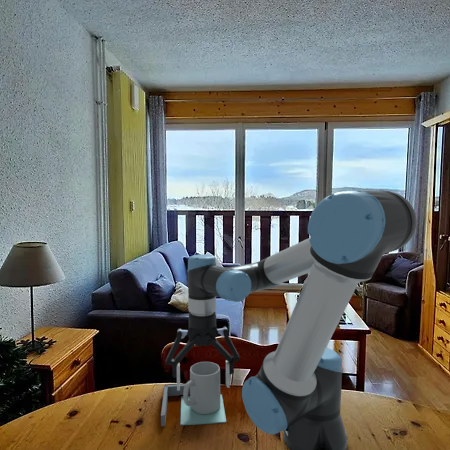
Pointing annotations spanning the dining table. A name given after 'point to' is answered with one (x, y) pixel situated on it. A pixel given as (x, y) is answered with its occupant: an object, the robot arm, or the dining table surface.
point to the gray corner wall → (168, 391)
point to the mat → (201, 415)
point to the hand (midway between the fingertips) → (203, 386)
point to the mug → (203, 388)
